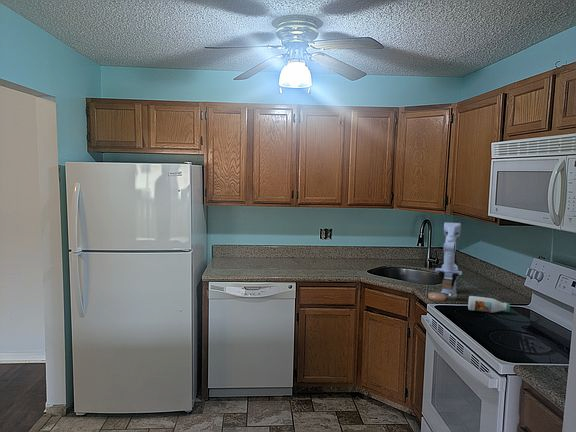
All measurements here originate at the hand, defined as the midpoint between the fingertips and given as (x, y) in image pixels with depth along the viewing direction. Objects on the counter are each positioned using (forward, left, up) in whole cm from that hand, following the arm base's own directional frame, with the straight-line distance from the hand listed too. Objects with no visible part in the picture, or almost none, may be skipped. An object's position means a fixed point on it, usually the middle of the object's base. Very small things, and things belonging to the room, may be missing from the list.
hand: (447, 285), depth 248 cm
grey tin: (-6, +2, -9) cm, 11 cm away
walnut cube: (0, 0, -2) cm, 2 cm away
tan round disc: (+1, -5, -9) cm, 11 cm away
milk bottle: (+11, +14, -5) cm, 19 cm away
